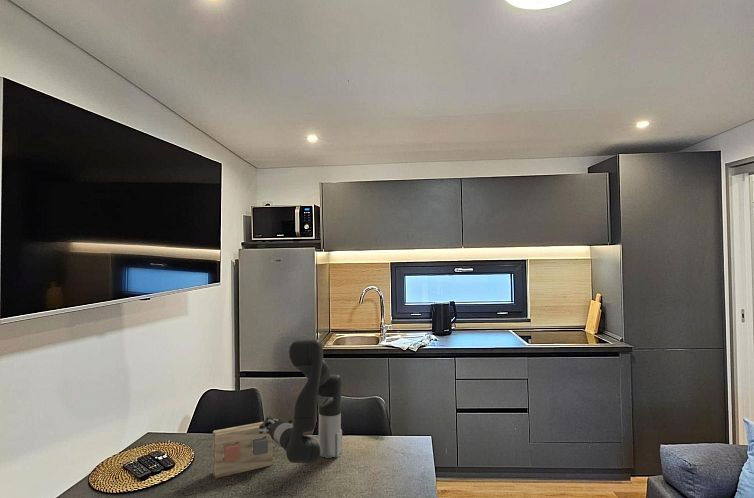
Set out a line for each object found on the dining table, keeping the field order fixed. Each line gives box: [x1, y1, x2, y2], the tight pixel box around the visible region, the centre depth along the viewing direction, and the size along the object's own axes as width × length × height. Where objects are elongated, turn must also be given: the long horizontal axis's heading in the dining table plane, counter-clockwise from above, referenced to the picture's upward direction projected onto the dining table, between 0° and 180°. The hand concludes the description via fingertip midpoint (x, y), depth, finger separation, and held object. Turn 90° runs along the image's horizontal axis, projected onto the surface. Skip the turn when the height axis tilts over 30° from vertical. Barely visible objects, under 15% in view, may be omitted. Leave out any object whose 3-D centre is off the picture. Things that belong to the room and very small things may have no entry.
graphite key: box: [252, 437, 268, 455], centre depth 180 cm, size 3×5×5 cm, turn 122°
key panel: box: [212, 421, 274, 479], centre depth 181 cm, size 5×22×16 cm, turn 122°
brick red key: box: [223, 442, 240, 462], centre depth 174 cm, size 3×5×5 cm, turn 122°
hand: (268, 419), depth 173 cm, fingers closed
